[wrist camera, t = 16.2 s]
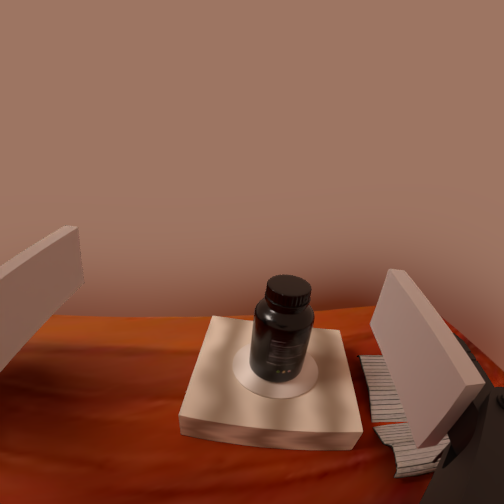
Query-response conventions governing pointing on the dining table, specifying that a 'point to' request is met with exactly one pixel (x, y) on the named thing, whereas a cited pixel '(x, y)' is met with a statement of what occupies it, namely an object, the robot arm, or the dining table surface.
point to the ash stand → (270, 395)
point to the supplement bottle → (281, 329)
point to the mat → (390, 410)
